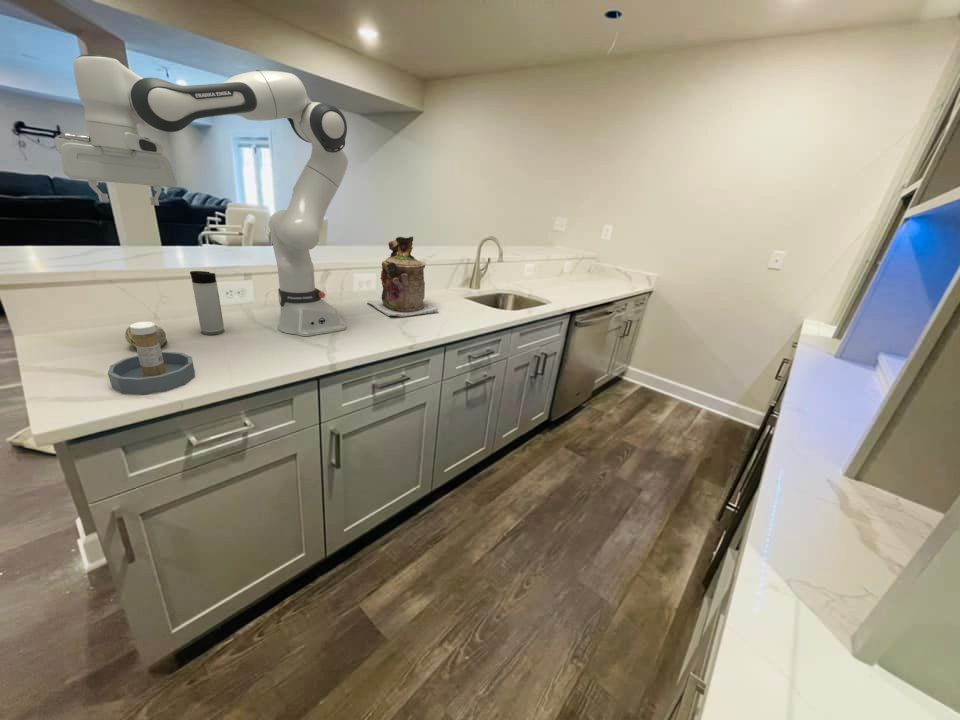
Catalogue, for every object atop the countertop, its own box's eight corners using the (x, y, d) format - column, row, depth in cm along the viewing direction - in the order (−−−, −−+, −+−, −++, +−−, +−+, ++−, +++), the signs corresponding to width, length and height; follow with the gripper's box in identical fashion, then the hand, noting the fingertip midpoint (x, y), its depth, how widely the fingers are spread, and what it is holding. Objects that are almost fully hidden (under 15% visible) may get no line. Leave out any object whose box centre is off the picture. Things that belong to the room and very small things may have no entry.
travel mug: (195, 332, 123) (183, 270, 115) (214, 327, 128) (204, 267, 120) (210, 337, 121) (199, 274, 113) (229, 331, 127) (219, 271, 119)
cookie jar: (412, 299, 189) (415, 231, 176) (440, 313, 172) (445, 240, 159) (364, 303, 173) (364, 229, 160) (390, 319, 157) (392, 239, 144)
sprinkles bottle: (152, 370, 96) (139, 320, 91) (171, 372, 97) (159, 321, 91) (138, 378, 92) (123, 326, 87) (158, 380, 92) (145, 328, 87)
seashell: (145, 334, 116) (154, 308, 112) (173, 352, 116) (183, 327, 113) (110, 344, 106) (118, 316, 103) (141, 364, 107) (150, 336, 103)
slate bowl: (194, 362, 105) (191, 348, 103) (195, 387, 93) (192, 372, 92) (117, 371, 96) (113, 356, 95) (108, 399, 85) (103, 384, 83)
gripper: (47, 130, 81) (68, 200, 86) (170, 146, 92) (181, 208, 98) (54, 131, 85) (74, 198, 91) (170, 147, 97) (181, 205, 102)
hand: (130, 203), depth 94 cm, fingers open, 8 cm apart
